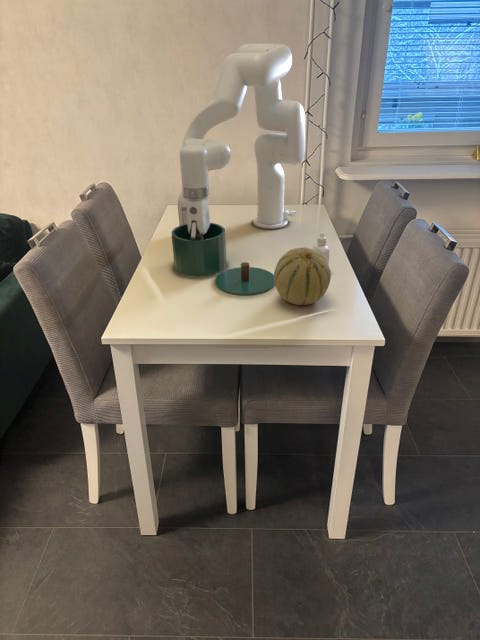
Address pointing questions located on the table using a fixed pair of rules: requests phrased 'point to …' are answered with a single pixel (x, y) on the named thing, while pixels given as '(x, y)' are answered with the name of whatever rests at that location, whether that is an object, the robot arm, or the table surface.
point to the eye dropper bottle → (322, 247)
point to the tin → (199, 251)
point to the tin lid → (245, 280)
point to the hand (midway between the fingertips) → (199, 251)
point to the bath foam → (182, 210)
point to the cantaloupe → (302, 276)
